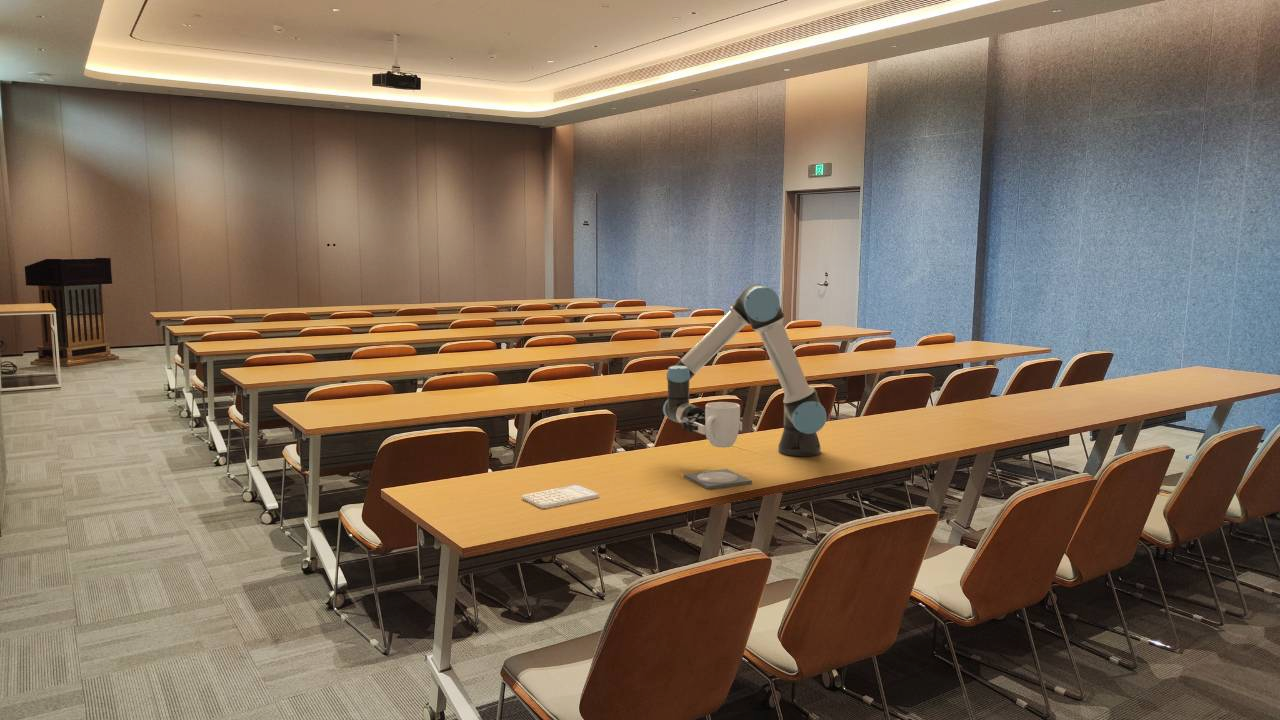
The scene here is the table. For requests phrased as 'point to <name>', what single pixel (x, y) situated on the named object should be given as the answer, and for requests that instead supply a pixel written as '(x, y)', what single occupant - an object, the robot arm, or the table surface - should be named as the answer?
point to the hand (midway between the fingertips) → (722, 428)
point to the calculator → (560, 496)
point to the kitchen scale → (717, 479)
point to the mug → (722, 423)
